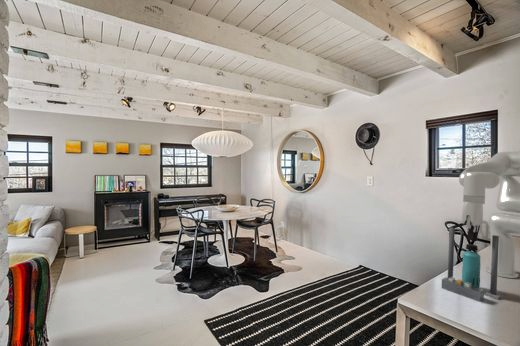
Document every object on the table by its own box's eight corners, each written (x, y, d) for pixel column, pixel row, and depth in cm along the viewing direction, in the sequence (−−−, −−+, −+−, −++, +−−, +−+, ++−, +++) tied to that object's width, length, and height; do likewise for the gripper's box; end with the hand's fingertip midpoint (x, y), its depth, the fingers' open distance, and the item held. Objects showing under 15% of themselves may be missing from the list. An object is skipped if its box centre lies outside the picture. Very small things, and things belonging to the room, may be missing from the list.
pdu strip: (445, 285, 120) (446, 274, 120) (483, 299, 108) (484, 287, 108) (441, 287, 118) (441, 276, 118) (479, 301, 106) (480, 289, 106)
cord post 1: (447, 279, 127) (449, 226, 127) (456, 282, 124) (458, 228, 123) (443, 281, 125) (445, 227, 124) (453, 284, 122) (455, 229, 121)
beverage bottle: (472, 292, 114) (474, 247, 113) (457, 286, 120) (459, 243, 119) (483, 291, 115) (485, 246, 115) (468, 284, 122) (469, 242, 121)
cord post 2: (488, 293, 114) (491, 234, 113) (500, 297, 110) (503, 236, 110) (485, 295, 111) (487, 235, 111) (497, 299, 108) (500, 237, 107)
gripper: (470, 198, 124) (469, 236, 124) (456, 199, 116) (455, 240, 116) (490, 199, 117) (489, 240, 118) (477, 201, 110) (475, 244, 110)
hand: (472, 240), depth 117 cm, fingers closed
